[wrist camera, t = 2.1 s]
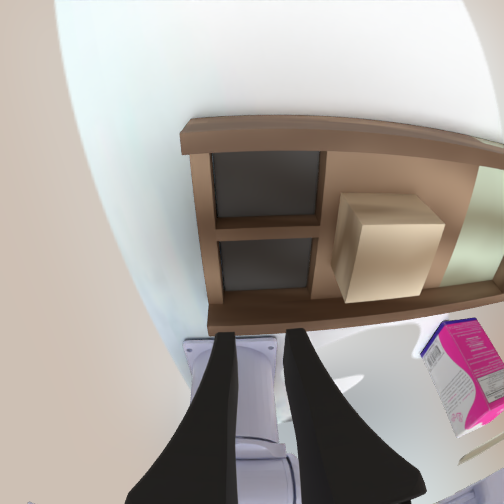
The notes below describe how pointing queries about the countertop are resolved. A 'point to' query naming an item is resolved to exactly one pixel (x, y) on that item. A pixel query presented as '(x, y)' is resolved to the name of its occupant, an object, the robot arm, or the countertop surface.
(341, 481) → the robot arm
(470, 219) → the compartment tray
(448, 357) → the supplement box
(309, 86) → the countertop surface
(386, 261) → the birch block
